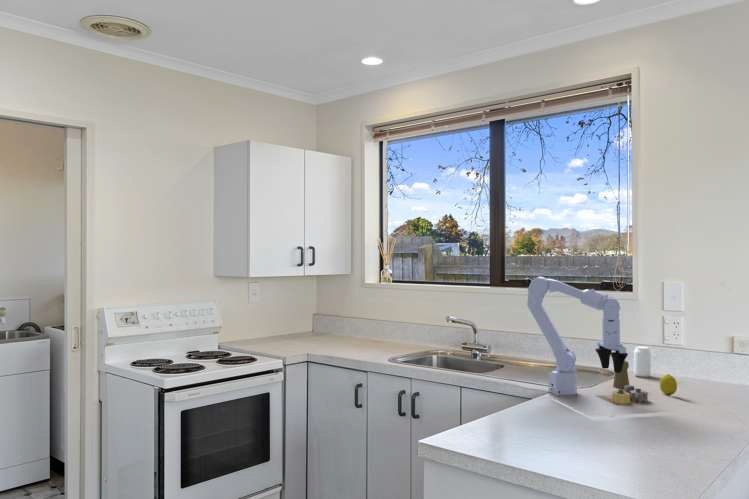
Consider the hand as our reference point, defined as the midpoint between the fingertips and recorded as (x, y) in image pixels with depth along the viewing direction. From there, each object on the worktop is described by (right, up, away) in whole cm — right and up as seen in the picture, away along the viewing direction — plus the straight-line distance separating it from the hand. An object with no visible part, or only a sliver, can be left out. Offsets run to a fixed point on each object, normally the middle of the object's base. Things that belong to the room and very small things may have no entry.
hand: (611, 370), depth 211 cm
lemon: (+21, -10, +2) cm, 23 cm away
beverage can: (+27, -10, +36) cm, 46 cm away
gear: (0, -9, -9) cm, 12 cm away
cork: (+9, -10, +13) cm, 19 cm away
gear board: (+2, -10, -5) cm, 11 cm away
